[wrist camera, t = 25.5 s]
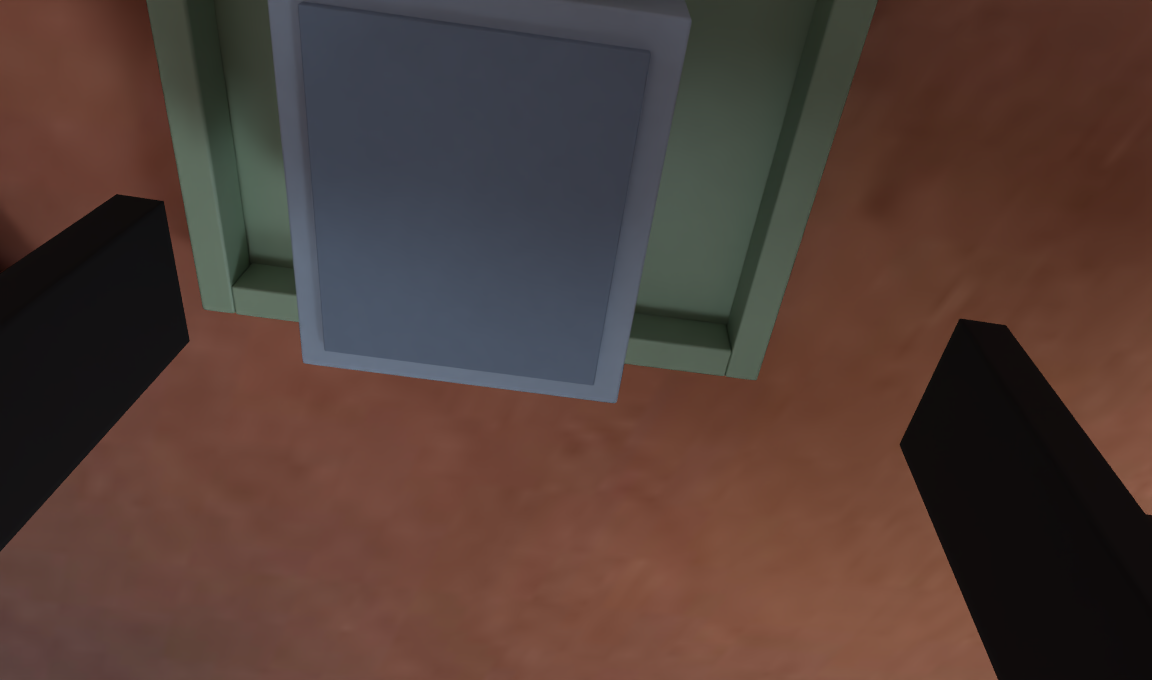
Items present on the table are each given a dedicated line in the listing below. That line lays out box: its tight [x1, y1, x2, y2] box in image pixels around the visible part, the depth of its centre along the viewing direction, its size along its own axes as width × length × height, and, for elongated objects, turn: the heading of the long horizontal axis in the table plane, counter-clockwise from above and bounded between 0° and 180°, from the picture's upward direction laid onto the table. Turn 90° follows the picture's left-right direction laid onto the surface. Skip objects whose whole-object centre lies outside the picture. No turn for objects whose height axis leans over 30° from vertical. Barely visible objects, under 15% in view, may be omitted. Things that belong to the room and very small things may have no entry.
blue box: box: [268, 0, 692, 403], centre depth 15 cm, size 6×7×5 cm
